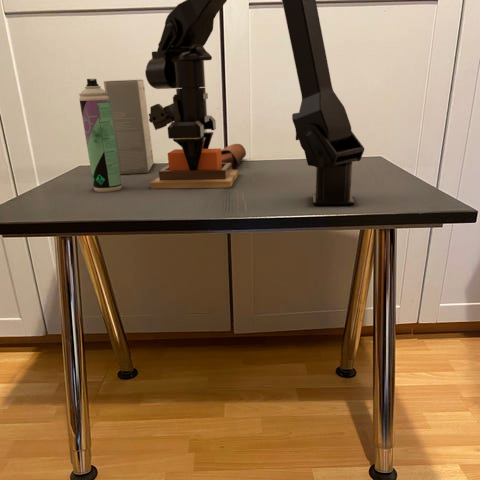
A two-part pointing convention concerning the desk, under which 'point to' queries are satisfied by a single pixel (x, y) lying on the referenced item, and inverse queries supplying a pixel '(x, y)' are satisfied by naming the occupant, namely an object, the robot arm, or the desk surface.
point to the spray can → (100, 137)
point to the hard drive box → (130, 125)
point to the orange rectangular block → (207, 161)
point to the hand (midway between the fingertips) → (196, 170)
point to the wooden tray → (196, 178)
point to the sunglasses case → (233, 155)
